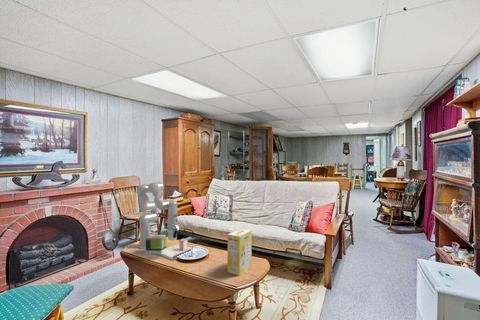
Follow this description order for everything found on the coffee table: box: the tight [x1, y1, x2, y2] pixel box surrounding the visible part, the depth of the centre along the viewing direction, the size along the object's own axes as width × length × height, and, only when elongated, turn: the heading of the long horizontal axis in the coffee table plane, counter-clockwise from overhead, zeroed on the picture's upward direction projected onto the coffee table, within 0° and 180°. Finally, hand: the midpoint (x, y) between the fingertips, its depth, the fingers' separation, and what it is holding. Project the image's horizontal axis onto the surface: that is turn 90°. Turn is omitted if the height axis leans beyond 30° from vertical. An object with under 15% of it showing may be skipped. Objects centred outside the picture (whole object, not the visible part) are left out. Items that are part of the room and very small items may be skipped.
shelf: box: [160, 243, 192, 261], centre depth 204 cm, size 17×20×4 cm
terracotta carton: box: [178, 238, 188, 251], centre depth 209 cm, size 5×5×9 cm
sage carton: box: [167, 229, 178, 241], centre depth 198 cm, size 5×5×9 cm
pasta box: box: [226, 227, 253, 277], centre depth 176 cm, size 18×10×28 cm, turn 149°
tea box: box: [145, 234, 167, 256], centre depth 208 cm, size 15×10×15 cm
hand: (172, 236), depth 198 cm, fingers closed on sage carton, 5 cm apart
